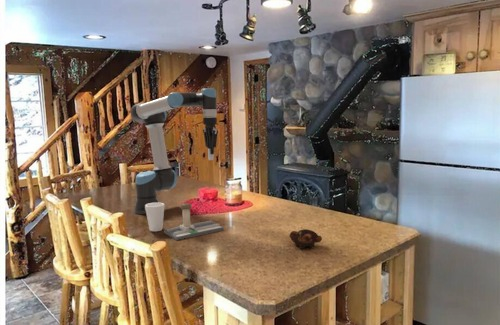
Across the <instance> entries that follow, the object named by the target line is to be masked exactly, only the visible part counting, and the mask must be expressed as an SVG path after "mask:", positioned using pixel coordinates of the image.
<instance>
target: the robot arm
mask: <svg viewBox="0 0 500 325" xmlns="http://www.w3.org/2000/svg"><path fill="white" fill-rule="evenodd" d="M181 107H183V108H184V107H202V123H203V125H204V129H202V133H203V137H204V143H205V144H204V145H205V147H207V156H208V157H207V158H208V161H214V160H215V151H214V150H215V148H216V147H217V142H218V133H219V130H218V129H216V125H218V118H217V116H218V110H217V90H216V89H215V88H213V87H212V88H208V87H207V88H202V90H201V92H180V91H179V92H178V91H174V92H170V93H169V94H168V95H166V96H163V97H160V98H157V99H154V100H151V101H148V102H139V103H136V104H134V105H132V107H131V108H130V112H129V114H130V117H131V118H132V120H133V121H134V122H136V123H139V124H140V123H141V124H144V126H145V127H146V128H147V130H148V135H149V142H150V146H151V147H150V148H151V153H152V159H153V165H154V167H153V169H152V170H147V171H141V172H139V173H138V174H136V176H135V190H136V191H135V193H136V194H135V195H136V200H135V205H134V207H133V210H134V212H133V213H135V214H137V215H138V214H139V215H147V214H146V210H145V205H146V204H149V203H156V202H157V203H160V202H159V200H158V197H157V193H158V192H161V191H162V192H163V191H167V190H172V189H174V188H175V186H176V185H177V182H178V175H177V172H176V171H175V170H173V168H172V166H170V164H169V159H168V155H167V148H166V141H165V135H164V130H163V127H164V125H165V121H166V120H167V115H168V113H167V112H168V111H170V110H174V109H177V108H181Z"/></svg>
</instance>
